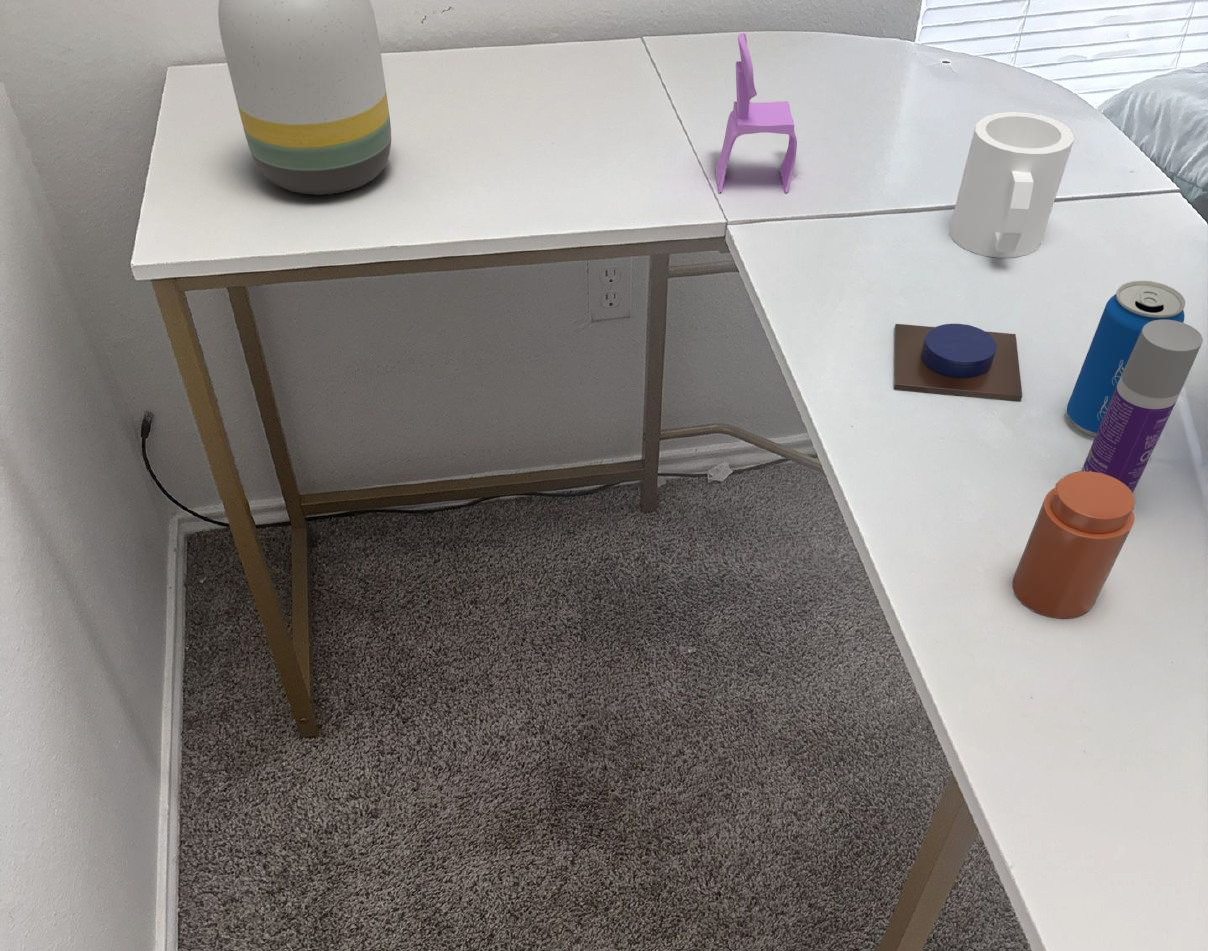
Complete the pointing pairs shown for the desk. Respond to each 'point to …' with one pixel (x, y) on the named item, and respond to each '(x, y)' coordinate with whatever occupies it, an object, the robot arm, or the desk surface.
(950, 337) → the jar lid
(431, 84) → the desk surface
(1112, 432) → the container
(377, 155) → the vase
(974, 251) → the mug
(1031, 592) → the jar
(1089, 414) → the beverage can
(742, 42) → the toy chair
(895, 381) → the coaster
